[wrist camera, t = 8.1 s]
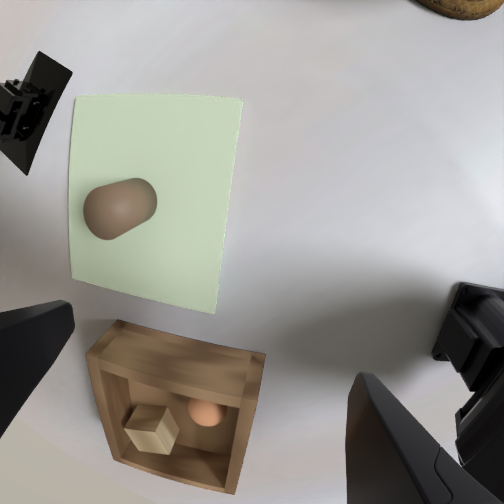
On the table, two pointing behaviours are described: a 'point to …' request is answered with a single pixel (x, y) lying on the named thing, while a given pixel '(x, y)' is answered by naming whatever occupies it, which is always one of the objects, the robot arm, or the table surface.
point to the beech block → (152, 429)
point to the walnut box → (176, 400)
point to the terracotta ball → (206, 412)
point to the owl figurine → (464, 8)
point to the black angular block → (29, 108)
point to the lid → (152, 194)
